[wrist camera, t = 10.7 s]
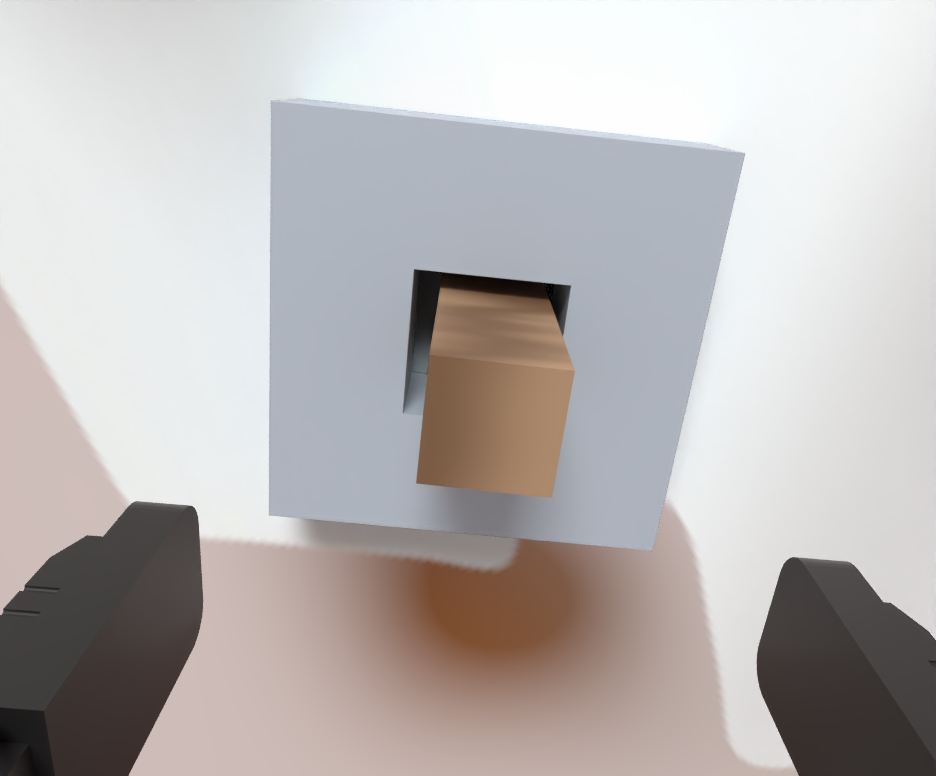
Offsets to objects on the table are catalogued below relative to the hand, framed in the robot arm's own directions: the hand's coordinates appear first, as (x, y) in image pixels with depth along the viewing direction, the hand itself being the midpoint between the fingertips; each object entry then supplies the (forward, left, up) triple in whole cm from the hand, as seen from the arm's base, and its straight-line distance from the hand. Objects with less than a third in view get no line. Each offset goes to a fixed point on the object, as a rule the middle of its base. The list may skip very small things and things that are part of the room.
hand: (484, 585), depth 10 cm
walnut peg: (0, +2, -19) cm, 19 cm away
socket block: (0, +2, -19) cm, 19 cm away
